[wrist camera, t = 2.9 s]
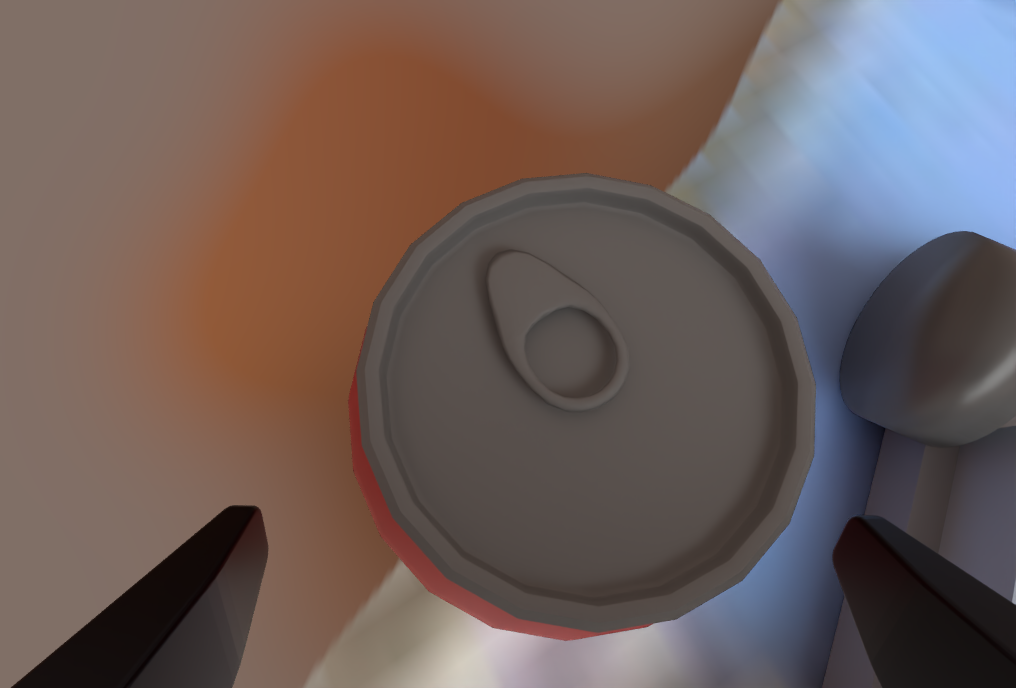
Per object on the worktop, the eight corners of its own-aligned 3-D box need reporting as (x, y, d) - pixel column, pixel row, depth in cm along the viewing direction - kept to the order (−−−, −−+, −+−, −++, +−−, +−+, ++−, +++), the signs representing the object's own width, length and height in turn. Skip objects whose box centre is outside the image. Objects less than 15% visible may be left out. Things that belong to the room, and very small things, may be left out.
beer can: (536, 320, 20) (637, 56, 8) (658, 484, 18) (975, 446, 7) (368, 431, 18) (202, 302, 7) (487, 616, 17) (529, 842, 6)
